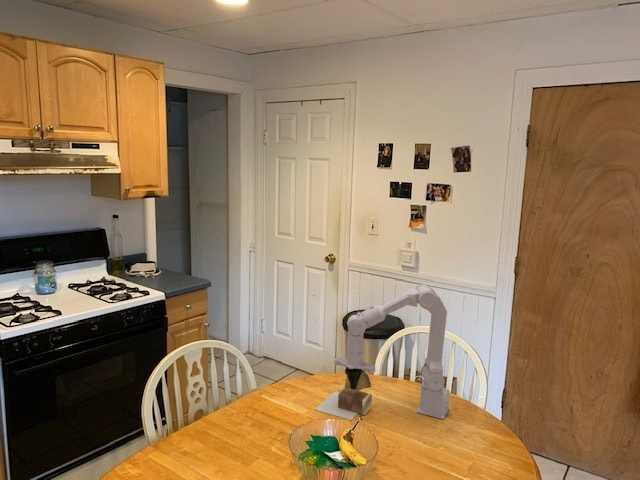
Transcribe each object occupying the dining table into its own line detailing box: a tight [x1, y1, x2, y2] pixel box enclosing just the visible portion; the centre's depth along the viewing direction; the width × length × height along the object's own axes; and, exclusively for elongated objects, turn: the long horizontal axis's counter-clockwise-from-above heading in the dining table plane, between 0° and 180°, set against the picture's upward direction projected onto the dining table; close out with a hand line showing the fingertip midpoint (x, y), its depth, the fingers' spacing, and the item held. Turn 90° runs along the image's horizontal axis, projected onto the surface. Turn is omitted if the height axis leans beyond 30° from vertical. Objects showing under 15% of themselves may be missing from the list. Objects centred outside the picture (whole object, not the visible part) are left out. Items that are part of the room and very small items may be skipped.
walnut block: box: [338, 388, 373, 416], centre depth 167 cm, size 5×6×10 cm
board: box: [313, 390, 358, 420], centre depth 169 cm, size 14×16×1 cm
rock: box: [344, 370, 372, 391], centre depth 183 cm, size 11×9×10 cm
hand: (353, 388), depth 166 cm, fingers closed
